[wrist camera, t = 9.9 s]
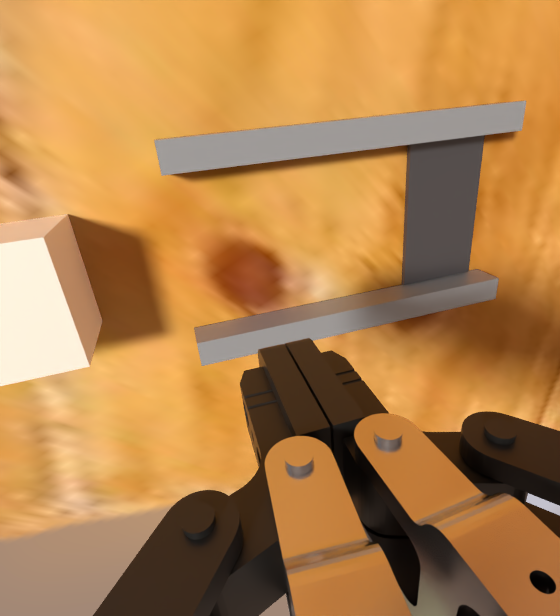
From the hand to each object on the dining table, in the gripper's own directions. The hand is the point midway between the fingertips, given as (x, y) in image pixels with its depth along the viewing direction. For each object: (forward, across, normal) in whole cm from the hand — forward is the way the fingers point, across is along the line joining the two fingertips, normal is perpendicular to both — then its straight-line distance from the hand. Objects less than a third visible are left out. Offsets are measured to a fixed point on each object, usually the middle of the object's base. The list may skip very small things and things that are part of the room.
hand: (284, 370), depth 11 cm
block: (+13, +10, 0) cm, 16 cm away
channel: (+13, -8, 0) cm, 15 cm away
